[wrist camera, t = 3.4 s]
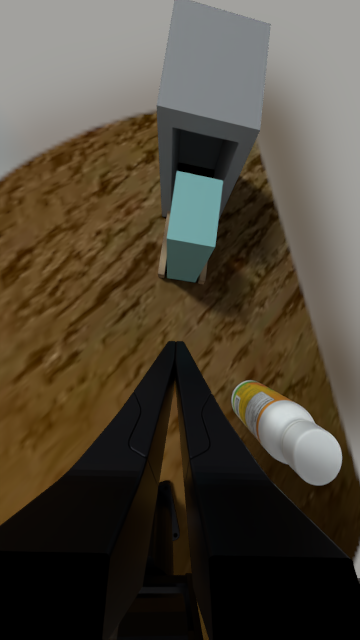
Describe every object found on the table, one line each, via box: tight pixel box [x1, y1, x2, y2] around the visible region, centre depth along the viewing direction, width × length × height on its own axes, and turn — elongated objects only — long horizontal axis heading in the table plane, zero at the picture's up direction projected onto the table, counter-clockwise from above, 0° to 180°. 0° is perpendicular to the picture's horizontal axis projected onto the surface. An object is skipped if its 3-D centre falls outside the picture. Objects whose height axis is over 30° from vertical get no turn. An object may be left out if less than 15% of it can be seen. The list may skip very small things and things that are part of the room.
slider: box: [167, 171, 223, 282], centre depth 17 cm, size 8×4×9 cm, turn 172°
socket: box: [157, 0, 271, 218], centre depth 17 cm, size 10×8×11 cm
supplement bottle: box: [232, 380, 342, 485], centre depth 16 cm, size 5×5×10 cm
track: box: [158, 211, 208, 284], centre depth 21 cm, size 9×6×1 cm
